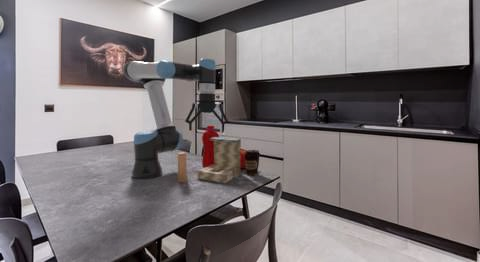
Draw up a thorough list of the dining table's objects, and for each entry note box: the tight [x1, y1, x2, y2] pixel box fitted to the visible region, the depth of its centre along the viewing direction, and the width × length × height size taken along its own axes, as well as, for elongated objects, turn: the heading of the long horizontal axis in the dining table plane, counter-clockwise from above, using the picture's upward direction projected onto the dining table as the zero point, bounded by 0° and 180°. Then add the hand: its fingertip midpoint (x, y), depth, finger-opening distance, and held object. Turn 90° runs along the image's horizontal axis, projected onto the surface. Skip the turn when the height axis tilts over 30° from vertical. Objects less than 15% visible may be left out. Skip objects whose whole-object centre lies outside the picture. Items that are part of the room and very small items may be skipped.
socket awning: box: [197, 136, 242, 184], centre depth 123 cm, size 16×17×19 cm
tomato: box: [241, 149, 247, 169], centre depth 140 cm, size 14×13×10 cm
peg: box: [177, 151, 188, 183], centre depth 115 cm, size 4×4×14 cm
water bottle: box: [201, 124, 220, 168], centre depth 142 cm, size 9×11×25 cm
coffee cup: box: [245, 149, 261, 176], centre depth 126 cm, size 9×8×13 cm
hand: (206, 137), depth 114 cm, fingers open, 13 cm apart
